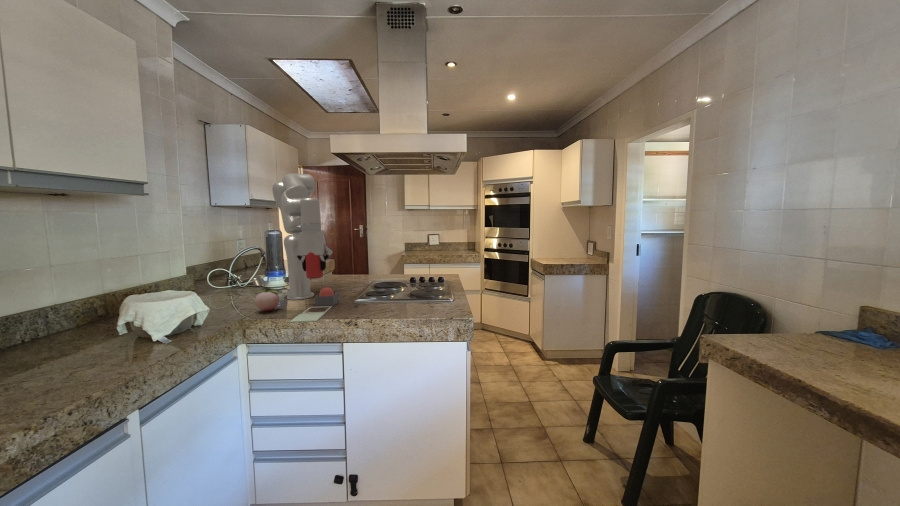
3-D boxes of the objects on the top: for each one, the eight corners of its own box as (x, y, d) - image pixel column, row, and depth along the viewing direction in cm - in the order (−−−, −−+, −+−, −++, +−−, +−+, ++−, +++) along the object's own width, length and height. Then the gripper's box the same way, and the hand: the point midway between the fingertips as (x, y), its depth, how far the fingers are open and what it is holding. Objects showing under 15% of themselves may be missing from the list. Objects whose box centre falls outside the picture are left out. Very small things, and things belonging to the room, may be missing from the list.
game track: (289, 322, 127) (288, 310, 126) (316, 302, 157) (316, 292, 156) (316, 321, 127) (315, 309, 127) (338, 301, 157) (337, 292, 157)
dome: (317, 302, 149) (316, 289, 149) (322, 299, 156) (321, 286, 155) (331, 302, 150) (330, 288, 149) (335, 298, 156) (334, 285, 155)
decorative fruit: (253, 315, 138) (251, 291, 136) (258, 310, 145) (256, 287, 144) (279, 312, 140) (277, 289, 139) (282, 307, 148) (280, 285, 147)
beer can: (326, 277, 142) (324, 249, 140) (310, 279, 137) (308, 250, 135) (318, 275, 146) (317, 248, 145) (303, 278, 141) (301, 249, 140)
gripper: (286, 229, 135) (289, 272, 137) (330, 228, 136) (332, 271, 138) (294, 228, 142) (297, 269, 144) (335, 227, 143) (337, 268, 145)
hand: (314, 270), depth 141 cm, fingers closed on beer can, 6 cm apart
